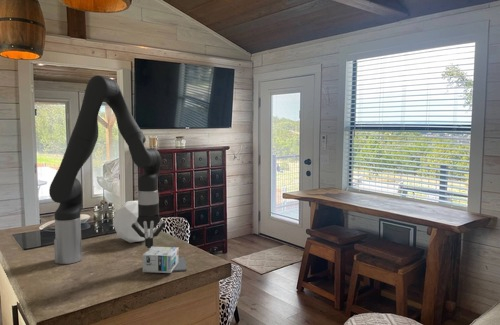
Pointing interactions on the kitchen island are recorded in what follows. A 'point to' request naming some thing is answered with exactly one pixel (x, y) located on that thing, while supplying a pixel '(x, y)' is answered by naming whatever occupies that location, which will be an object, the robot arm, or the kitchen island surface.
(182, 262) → the mat
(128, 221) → the ball
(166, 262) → the light bulb box
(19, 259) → the kitchen island surface
